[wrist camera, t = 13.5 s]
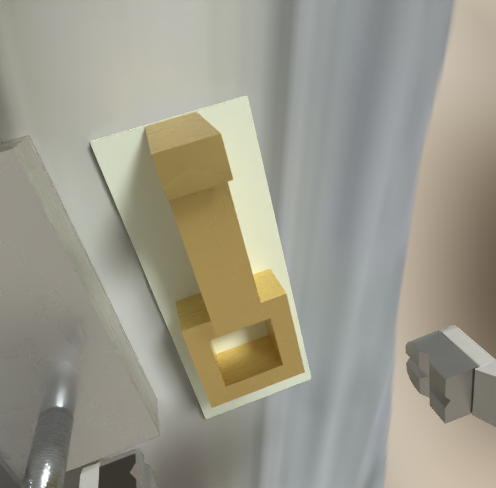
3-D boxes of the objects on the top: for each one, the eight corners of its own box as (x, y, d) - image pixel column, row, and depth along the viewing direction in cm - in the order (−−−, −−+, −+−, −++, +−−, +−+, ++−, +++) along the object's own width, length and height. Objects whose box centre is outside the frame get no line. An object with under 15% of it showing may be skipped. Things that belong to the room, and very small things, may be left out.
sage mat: (90, 140, 20) (89, 142, 20) (245, 95, 21) (247, 96, 21) (205, 415, 29) (206, 419, 29) (309, 374, 30) (311, 378, 30)
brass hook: (110, 136, 20) (103, 168, 14) (228, 101, 21) (265, 120, 15) (203, 373, 27) (222, 455, 22) (288, 342, 28) (327, 413, 23)
